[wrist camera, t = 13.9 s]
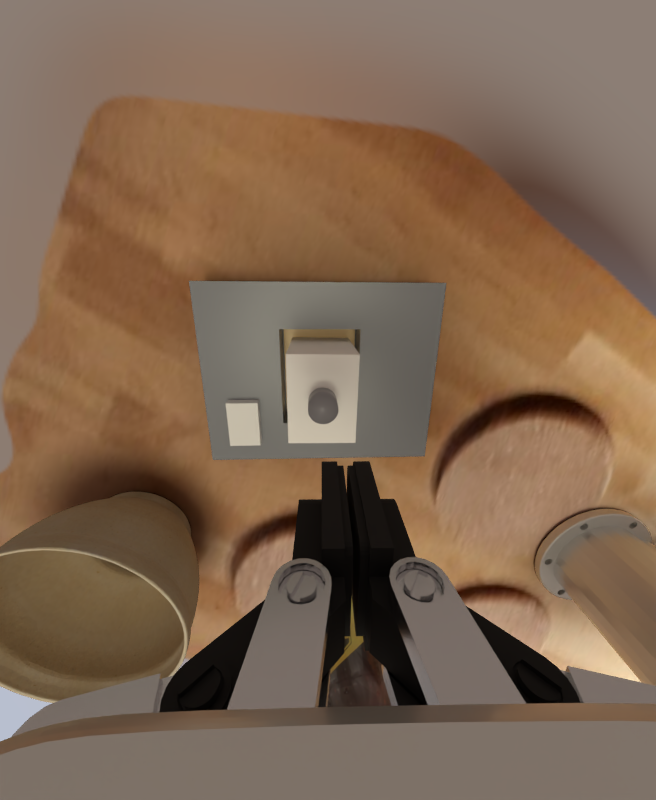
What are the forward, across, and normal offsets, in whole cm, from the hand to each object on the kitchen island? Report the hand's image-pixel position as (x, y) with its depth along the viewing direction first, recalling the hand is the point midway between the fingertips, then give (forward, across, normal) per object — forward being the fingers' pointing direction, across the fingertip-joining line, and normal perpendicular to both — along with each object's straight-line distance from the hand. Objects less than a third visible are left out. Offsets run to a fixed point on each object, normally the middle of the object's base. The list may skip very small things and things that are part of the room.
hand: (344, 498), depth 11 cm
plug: (+17, +1, 0) cm, 17 cm away
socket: (+18, +1, -1) cm, 18 cm away
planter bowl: (+18, +19, +16) cm, 31 cm away
